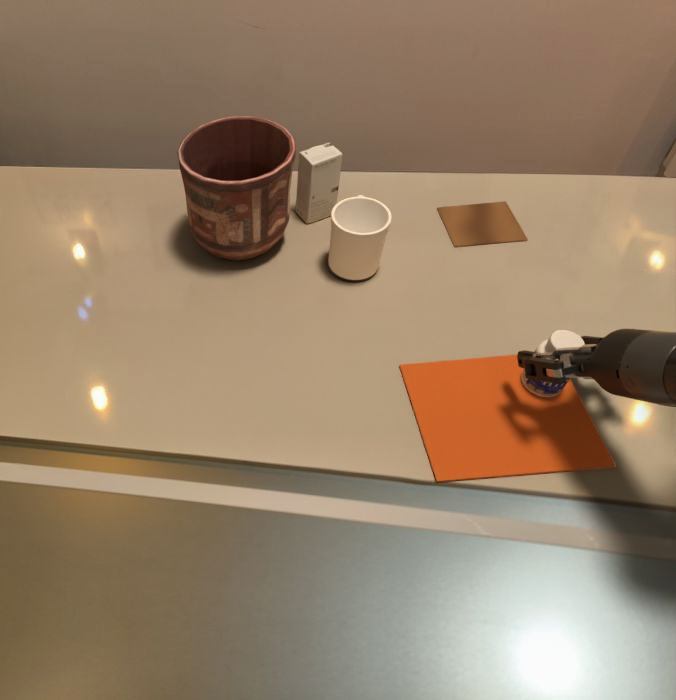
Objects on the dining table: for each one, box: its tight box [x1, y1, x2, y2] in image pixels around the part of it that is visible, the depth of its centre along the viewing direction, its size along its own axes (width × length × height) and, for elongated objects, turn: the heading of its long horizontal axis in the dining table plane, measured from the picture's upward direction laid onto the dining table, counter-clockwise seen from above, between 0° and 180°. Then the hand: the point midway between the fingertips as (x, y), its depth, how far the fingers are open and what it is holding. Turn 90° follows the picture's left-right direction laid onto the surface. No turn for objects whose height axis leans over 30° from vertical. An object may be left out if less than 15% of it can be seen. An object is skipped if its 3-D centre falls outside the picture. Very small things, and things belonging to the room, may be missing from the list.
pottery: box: [177, 115, 297, 261], centre depth 98 cm, size 18×18×18 cm
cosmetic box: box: [295, 142, 344, 224], centre depth 103 cm, size 6×4×12 cm
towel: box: [399, 354, 617, 483], centre depth 80 cm, size 22×18×1 cm
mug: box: [327, 194, 392, 283], centre depth 96 cm, size 11×9×10 cm
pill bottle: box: [521, 329, 585, 397], centre depth 79 cm, size 5×5×9 cm
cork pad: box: [436, 200, 528, 248], centre depth 103 cm, size 12×10×1 cm
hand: (550, 351), depth 79 cm, fingers open, 8 cm apart
